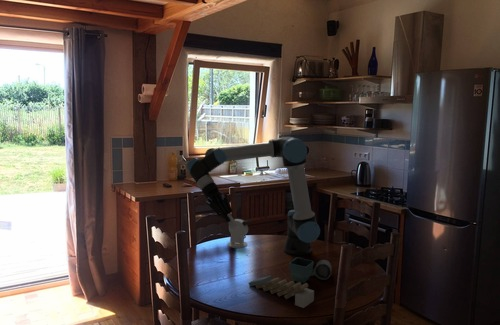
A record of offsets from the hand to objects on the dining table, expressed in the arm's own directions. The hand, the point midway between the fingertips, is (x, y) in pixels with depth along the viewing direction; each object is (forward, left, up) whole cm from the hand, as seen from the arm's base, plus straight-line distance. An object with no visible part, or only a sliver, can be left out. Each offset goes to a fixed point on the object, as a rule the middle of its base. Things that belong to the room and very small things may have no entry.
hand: (234, 226), depth 187 cm
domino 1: (-5, +9, -24) cm, 26 cm away
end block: (-19, +33, -24) cm, 45 cm away
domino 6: (-15, +26, -24) cm, 38 cm away
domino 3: (-9, +16, -24) cm, 30 cm away
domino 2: (-7, +13, -24) cm, 28 cm away
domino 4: (-11, +20, -24) cm, 33 cm away
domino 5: (-13, +23, -24) cm, 36 cm away
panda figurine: (-17, -43, -25) cm, 52 cm away
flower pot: (-28, +13, -25) cm, 39 cm away
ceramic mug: (-39, +12, -25) cm, 48 cm away
